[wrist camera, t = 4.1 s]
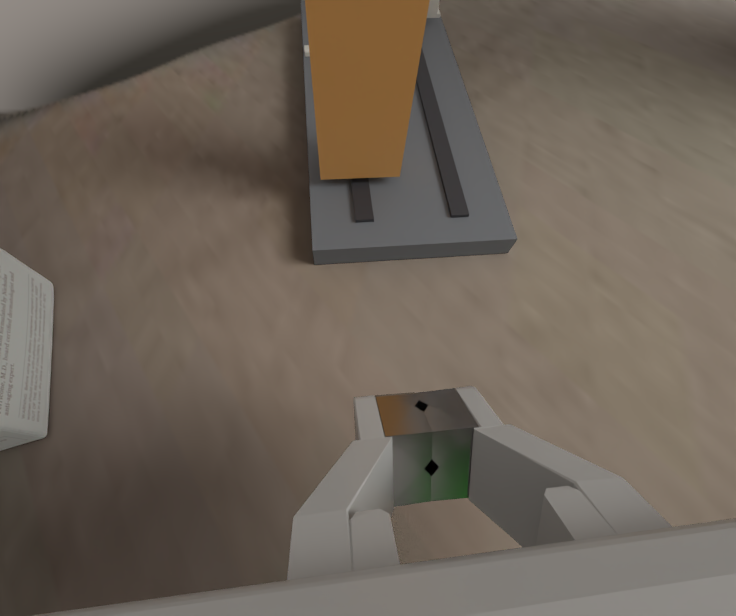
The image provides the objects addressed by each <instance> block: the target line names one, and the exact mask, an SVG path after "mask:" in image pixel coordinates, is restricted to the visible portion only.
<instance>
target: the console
mask: <svg viewBox="0 0 736 616" xmlns="http://www.w3.org/2000/svg"><path fill="white" fill-rule="evenodd" d="M440 15H441V14H440V11H439V8H438V12H437V14H427V19H426V25H425V31H424V37H423V43H422V49H421V55H420V60H419V66H418V72H417V78H416V84H415V90H414V96H413V102H412V107H411V113H410V119H409V125H408V131H407V137H406V143H405V149H404V155H403V160H402V166H401V172H400V177H378V178H353V179H327V180H321V178H320V167H319V155H318V144H317V132H316V121H315V109H314V98H313V87H312V75H311V64H310V52H309V41H308V29H307V18H306V6H305V0H301V16H302V37H303V59H304V80H305V101H306V122H307V144H308V165H309V186H310V207H311V229H312V250H313V257H314V264H315V265H317V264H333V263H350V262H366V261H383V260H399V259H416V258H432V257H449V256H465V255H482V254H498V253H508V252H509V250H510V249H511V247H512V246H513V245H514V243H515V242H516V240H517V236H516V234H515V231H514V228H513V225H512V222H511V219H510V216H509V213H508V210H507V207H506V205H505V202H504V199H503V196H502V193H501V190H500V187H499V184H498V181H497V178H496V176H495V173H494V170H493V167H492V164H491V161H490V158H489V155H488V152H487V149H486V146H485V144H484V141H483V138H482V135H481V132H480V129H479V126H478V123H477V120H476V117H475V115H474V112H473V109H472V106H471V103H470V100H469V97H468V94H467V91H466V88H465V85H464V83H463V80H462V77H461V74H460V71H459V68H458V65H457V62H456V59H455V56H454V54H453V51H452V48H451V45H450V42H449V39H448V36H447V33H446V30H445V27H444V25H443V22H442V19H441V16H440Z"/></svg>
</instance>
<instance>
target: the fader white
mask: <svg viewBox="0 0 736 616" xmlns="http://www.w3.org/2000/svg"><path fill="white" fill-rule="evenodd" d="M439 2H440V0H430V2H429V7H428V13H427V14H437V12H438V7H439Z"/></svg>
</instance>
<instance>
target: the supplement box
mask: <svg viewBox="0 0 736 616" xmlns="http://www.w3.org/2000/svg"><path fill="white" fill-rule="evenodd" d="M53 308H54V288H53V284H52V282H50V281H49V280H47V279H46V278H44V277H43V276H42V275H40V274H38V273H37V272H35V271H34V270H32V269H31V268H29V267H28V266H26V265H25V264H23V263H22V262H20V261H19V260H18V259H16V258H15V257H13V256H12V255H10V254H9V253H7V252H6V251H4V250H3V249H1V248H0V451H1V450H5V449H8V448H11V447H15V446H18V445H21V444H25V443H28V442H31V441H35V440H39V439H42V438H44V437H45V436H46V435H47V429H48V414H49V397H50V376H51V355H52V331H53Z"/></svg>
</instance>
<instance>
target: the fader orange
mask: <svg viewBox="0 0 736 616" xmlns="http://www.w3.org/2000/svg"><path fill="white" fill-rule="evenodd" d="M429 2H430V0H305V6H306V18H307V29H308V41H309V52H310V64H311V75H312V87H313V98H314V109H315V121H316V132H317V144H318V155H319V167H320V178H321V180H327V179H353V178H378V177H400V172H401V166H402V160H403V155H404V149H405V143H406V137H407V131H408V125H409V119H410V113H411V107H412V102H413V96H414V90H415V84H416V78H417V72H418V66H419V60H420V55H421V49H422V43H423V37H424V31H425V25H426V19H427V13H428V7H429Z"/></svg>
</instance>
